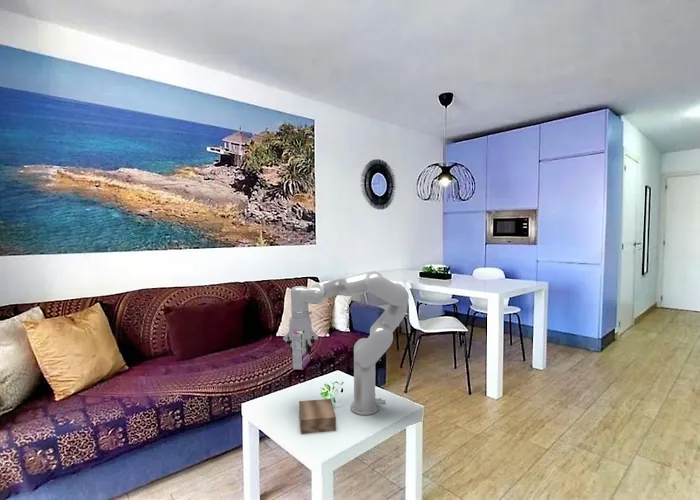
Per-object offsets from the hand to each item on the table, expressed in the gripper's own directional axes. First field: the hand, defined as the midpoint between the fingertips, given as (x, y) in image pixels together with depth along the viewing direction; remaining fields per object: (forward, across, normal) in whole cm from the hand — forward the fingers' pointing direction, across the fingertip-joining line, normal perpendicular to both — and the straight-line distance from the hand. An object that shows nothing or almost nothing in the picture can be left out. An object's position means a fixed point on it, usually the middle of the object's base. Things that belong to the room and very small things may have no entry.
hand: (301, 353), depth 166 cm
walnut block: (+26, -6, +12) cm, 29 cm away
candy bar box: (+5, 0, 0) cm, 5 cm away
